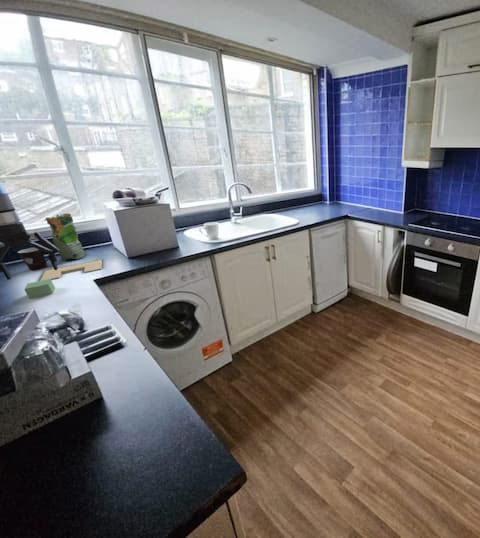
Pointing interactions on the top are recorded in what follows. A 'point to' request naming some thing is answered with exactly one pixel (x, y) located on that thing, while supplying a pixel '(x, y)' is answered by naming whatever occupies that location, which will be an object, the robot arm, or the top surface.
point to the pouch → (65, 237)
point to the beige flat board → (86, 266)
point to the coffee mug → (33, 258)
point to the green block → (39, 288)
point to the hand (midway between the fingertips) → (33, 273)
